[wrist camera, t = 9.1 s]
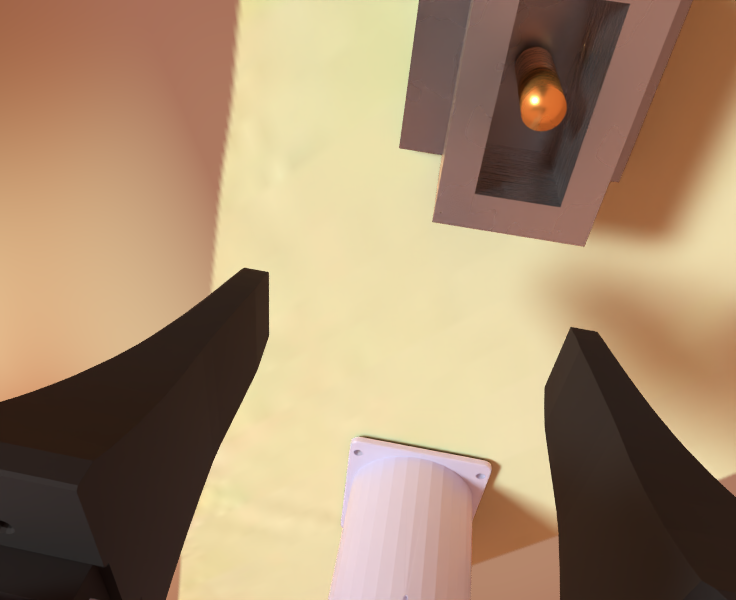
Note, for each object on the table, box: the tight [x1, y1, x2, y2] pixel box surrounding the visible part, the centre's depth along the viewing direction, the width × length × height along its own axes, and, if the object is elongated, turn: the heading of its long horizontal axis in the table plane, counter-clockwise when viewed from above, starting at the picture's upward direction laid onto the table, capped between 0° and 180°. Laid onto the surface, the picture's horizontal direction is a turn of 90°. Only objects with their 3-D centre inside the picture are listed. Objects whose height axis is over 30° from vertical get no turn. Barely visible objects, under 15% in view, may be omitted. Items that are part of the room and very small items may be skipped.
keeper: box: [399, 0, 693, 182], centre depth 18 cm, size 7×8×5 cm
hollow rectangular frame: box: [432, 0, 681, 246], centre depth 17 cm, size 8×5×4 cm, turn 175°
